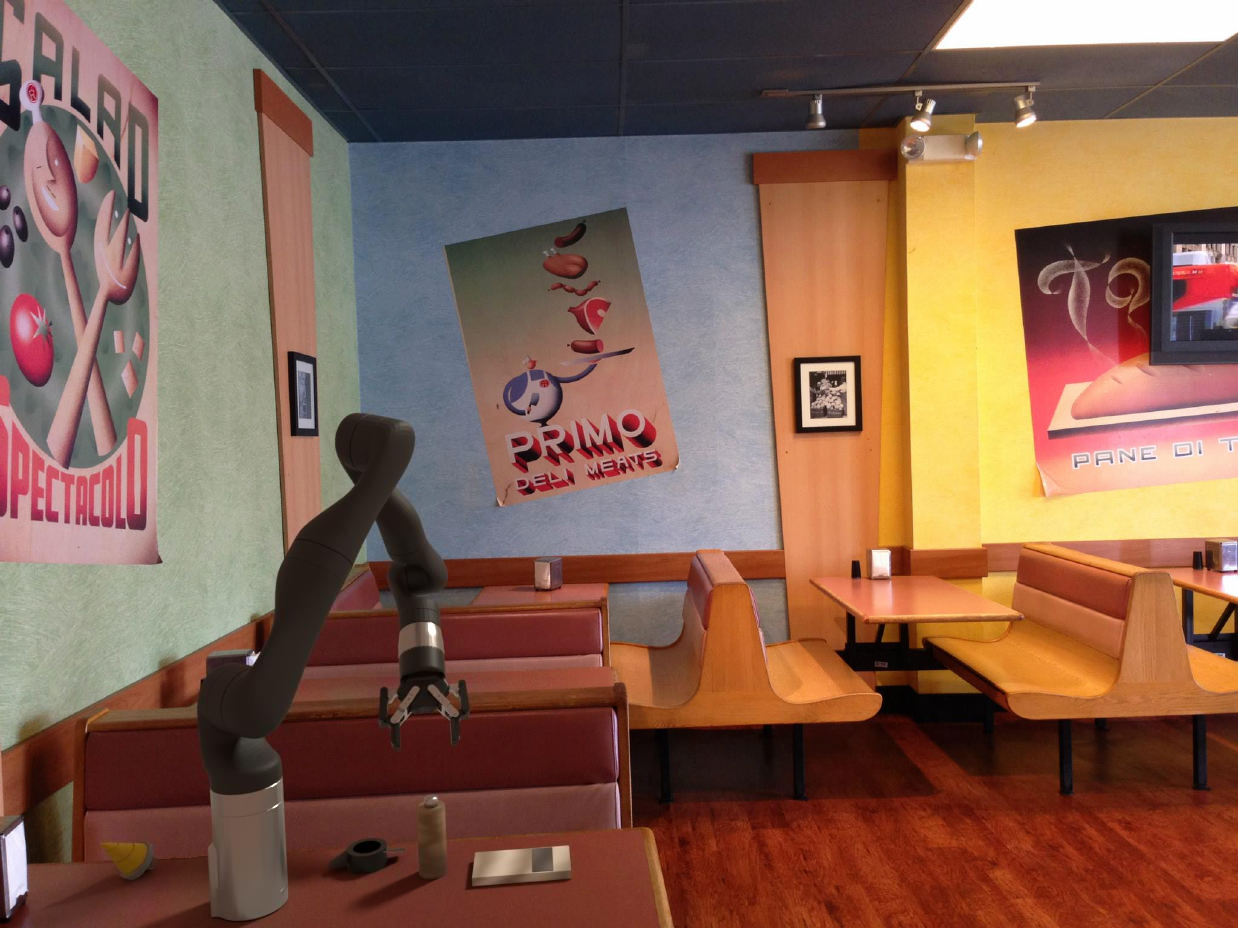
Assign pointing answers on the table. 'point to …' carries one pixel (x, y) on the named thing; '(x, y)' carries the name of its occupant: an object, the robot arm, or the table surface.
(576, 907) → the table surface
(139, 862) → the yellow party hat
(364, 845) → the black winged cup
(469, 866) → the table surface
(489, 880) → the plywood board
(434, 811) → the wooden pepper mill
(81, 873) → the table surface
